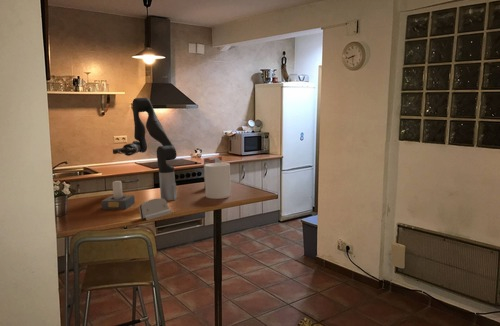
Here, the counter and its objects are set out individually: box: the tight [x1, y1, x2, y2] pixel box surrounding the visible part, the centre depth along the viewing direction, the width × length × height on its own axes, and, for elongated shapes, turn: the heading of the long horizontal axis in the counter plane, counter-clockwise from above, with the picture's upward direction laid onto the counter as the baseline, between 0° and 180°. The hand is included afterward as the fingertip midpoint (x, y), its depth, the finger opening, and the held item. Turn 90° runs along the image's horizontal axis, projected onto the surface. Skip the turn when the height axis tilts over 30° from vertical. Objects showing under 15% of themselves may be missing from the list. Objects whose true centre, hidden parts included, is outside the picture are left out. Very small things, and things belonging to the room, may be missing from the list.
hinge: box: [138, 198, 172, 221], centre depth 212 cm, size 17×5×10 cm, turn 140°
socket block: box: [100, 194, 136, 210], centre depth 236 cm, size 14×14×5 cm
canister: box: [203, 162, 232, 200], centre depth 254 cm, size 16×16×20 cm
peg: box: [111, 180, 124, 199], centre depth 235 cm, size 5×5×14 cm
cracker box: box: [203, 155, 223, 182], centre depth 285 cm, size 14×6×21 cm, turn 147°
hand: (120, 152), depth 248 cm, fingers open, 8 cm apart
